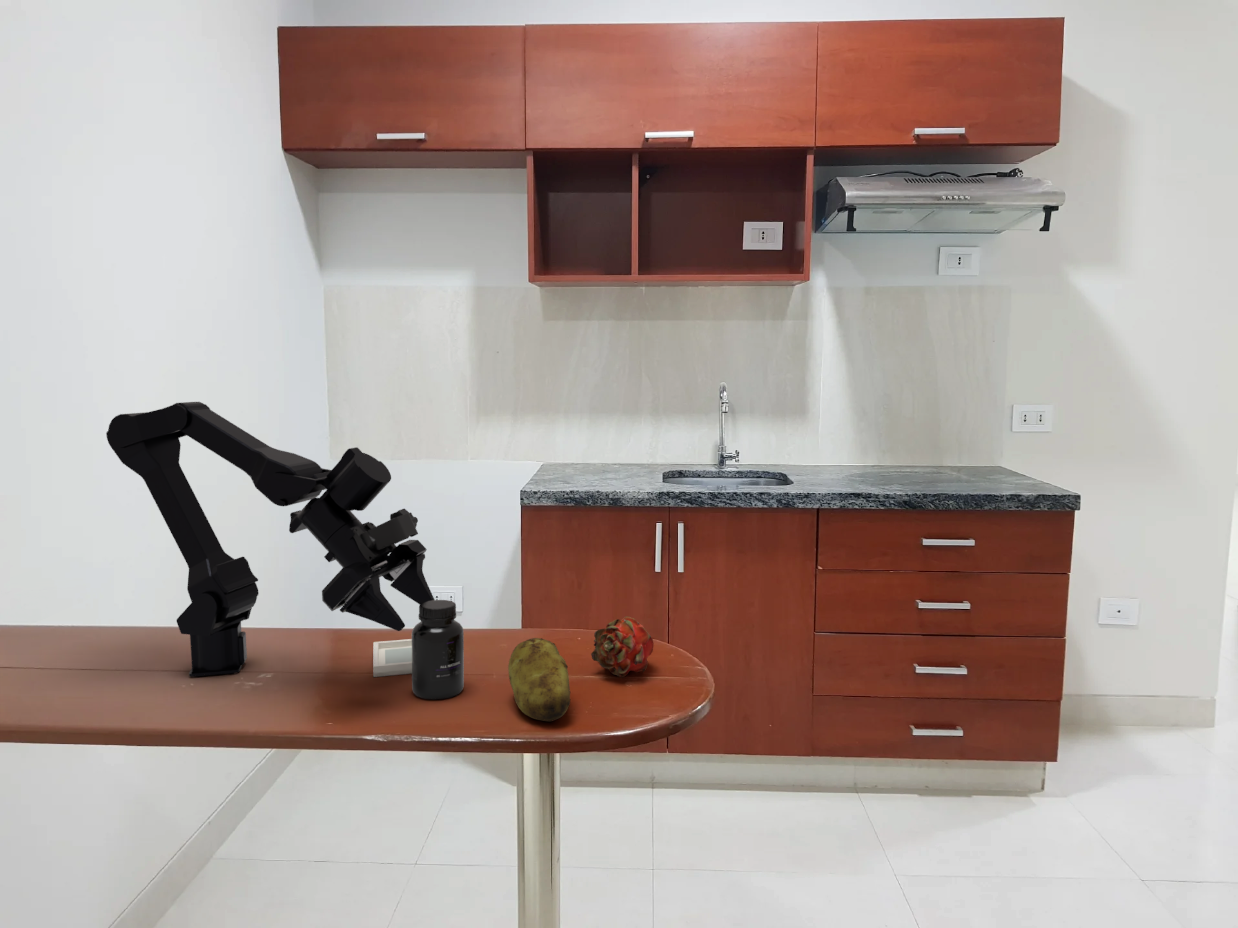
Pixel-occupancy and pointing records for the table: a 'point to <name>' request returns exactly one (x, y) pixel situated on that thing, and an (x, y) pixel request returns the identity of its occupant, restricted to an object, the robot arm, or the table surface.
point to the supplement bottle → (437, 651)
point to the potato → (539, 679)
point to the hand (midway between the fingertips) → (419, 618)
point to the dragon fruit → (622, 646)
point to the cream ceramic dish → (392, 657)
